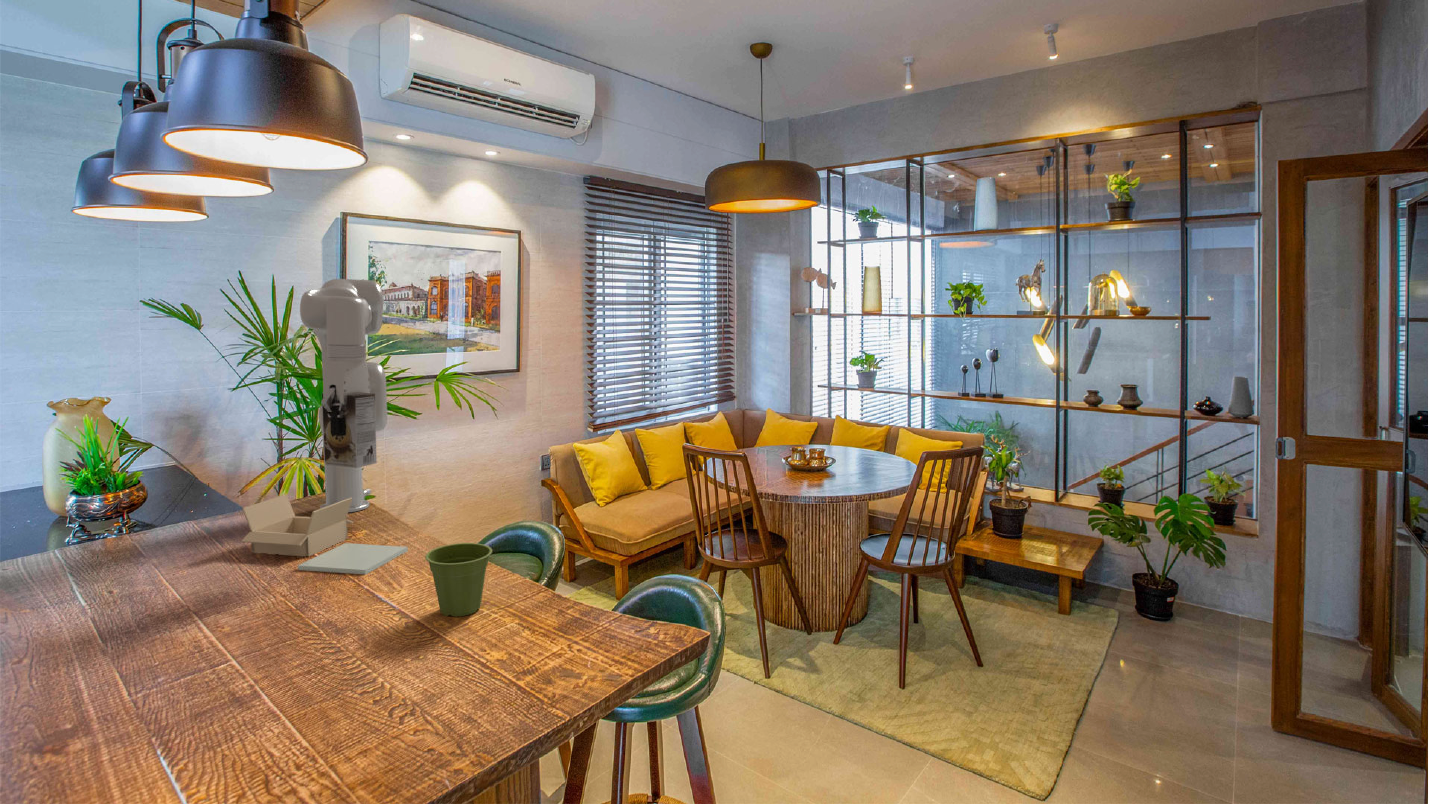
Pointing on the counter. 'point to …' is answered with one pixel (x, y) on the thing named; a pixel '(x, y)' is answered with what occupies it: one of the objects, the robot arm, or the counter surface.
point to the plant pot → (459, 576)
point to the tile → (353, 558)
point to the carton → (294, 527)
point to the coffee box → (352, 433)
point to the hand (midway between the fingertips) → (349, 432)
